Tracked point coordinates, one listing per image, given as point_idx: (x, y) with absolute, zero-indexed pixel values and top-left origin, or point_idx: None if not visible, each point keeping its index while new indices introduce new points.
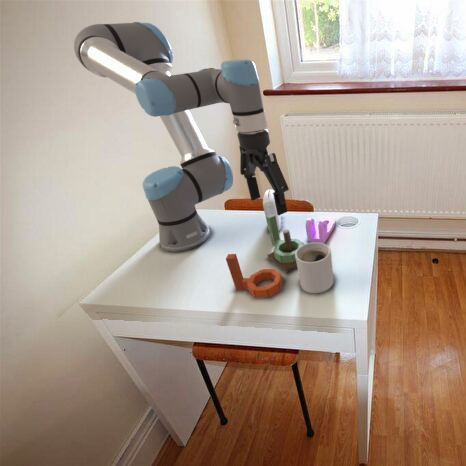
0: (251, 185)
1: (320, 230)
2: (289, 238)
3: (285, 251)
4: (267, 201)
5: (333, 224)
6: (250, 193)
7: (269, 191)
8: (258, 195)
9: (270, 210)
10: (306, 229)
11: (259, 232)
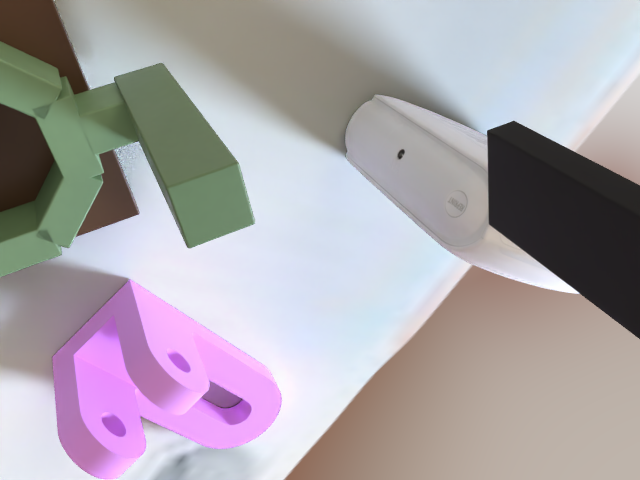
0: (637, 253)
1: (67, 412)
2: None
3: (26, 126)
4: None
5: (191, 438)
6: (562, 164)
7: None
8: (509, 223)
9: (435, 196)
10: (142, 334)
11: (414, 31)
